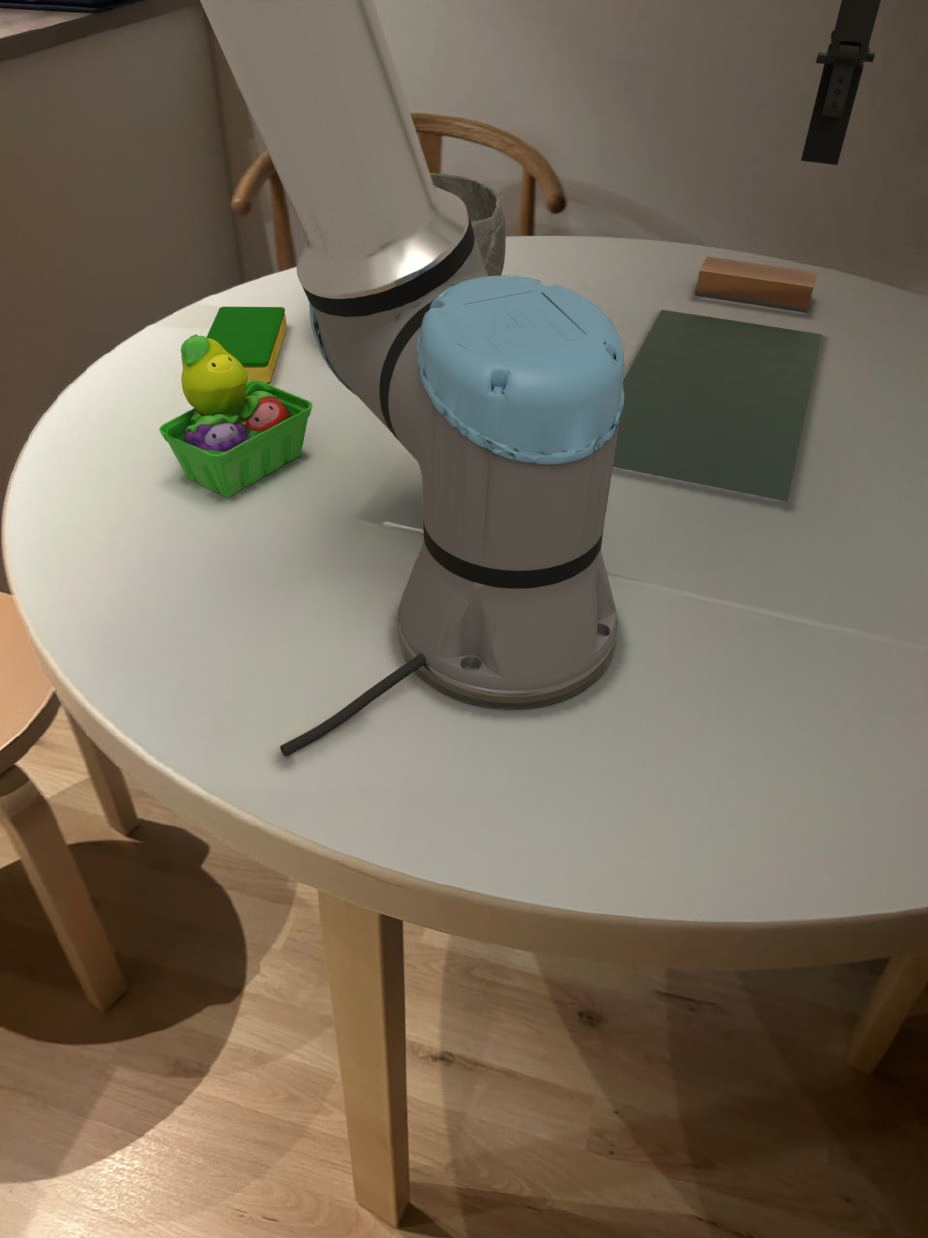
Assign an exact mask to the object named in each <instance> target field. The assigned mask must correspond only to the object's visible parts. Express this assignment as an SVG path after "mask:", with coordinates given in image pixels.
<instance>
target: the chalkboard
mask: <svg viewBox="0 0 928 1238" xmlns="http://www.w3.org/2000/svg"><path fill="white" fill-rule="evenodd" d="M648 332H649V333H648V334H647V336H646V338H645V339H644V341H643V343H642V345H641V347H640V349H639V351H638V353H637V354H636V356H635V358H634V360H633V362H632V364H631V366H630V368H629V369H628V371H627V373H626V375H625V377H624V378H623V391H624V406H623V410H622V413H621V416H620V422H619V429H618V435H617V442H616V449H615V455H614V462H613V468H616V469H621V470H627V471H632V472H637V473H641V474H647V475H652V476H655V477H662V478H667V479H671V480H676V481H683V482H686V483H691V484H697V485H702V486H706V487H712V488H716V489H722V490H728V491H731V492H736V493H737V492H738V493H741V494H746V495H751V496H757V497H762V498H767V499H772V500H777V501H781V502H788V501H789V496H790V492H791V487H792V483H793V482H792V481H793V477H794V472H795V466H796V462H797V458H798V453H799V448H800V443H801V438H802V432H803V428H804V424H805V419H806V413H807V410H808V409H807V408H808V404H809V401H810V400H809V399H810V395H811V389H812V386H813V385H812V384H813V380H814V375H815V370H816V365H817V360H818V355H819V350H820V346H821V341H822V335H823V334H822V333H815V332H809V331H802V330H796V329H792V328H791V329H790V328H784V327H777V326H771V325H765V324H757V323H751V322H745V321H739V320H732V319H726V318H719V317H714V316H713V317H712V316H708V315H707V316H706V315H699V314H693V313H686V312H680V311H675V310H674V311H673V310H668V309H661V310H660V312H659V314H658V315H657V318H656V320H655V321H654V323H653V324H652V327H651V329H650V330H649V331H648Z"/></svg>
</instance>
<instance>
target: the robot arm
mask: <svg viewBox="0 0 928 1238" xmlns="http://www.w3.org/2000/svg"><path fill="white" fill-rule="evenodd" d="M881 1H882V0H841V2H840V5H839V9H838V14H837V19H836V23H835V27H834V28H833V30H832V31H831V33H830V34H831V35H830V38H829V39H830V43H828V48H827V51H826V52H821V51H819V52H817V56H816V61H815V64H819V65H820V64H821V65H823V68H822V71H821V75H820V81H819V84H818V88H817V91H816V92H817V93H816V96H815V102H814V104H813V109H812V113H811V117H810V121H809V125H808V130H807V134H806V138H805V143H804V146H803V150H802V154H801V158H800V162H809V163H815V164H816V163H817V164H826V165H833V166H838V164H839V160H840V158H841V157H840V156H841V154H842V150H843V146H844V141H845V139H846V134H847V131H848V127H849V123H850V119H851V115H852V111H853V108H854V104H855V101H856V96H857V93H858V90H859V86H860V82H861V78H862V74H863V70H864V65H865V64H864V63H873V62H874V60H875V56H876V51H873V50H870V49H871V47H870V42H871V39H872V35H873V32H874V27H875V25H876V20H877V16H878V13H879V9H880V5H881ZM199 2H200V4H201V6H202V8H203V11H204V13H205V15H206V17H207V19H208V21H209V23H210V26H211V28H212V30H213V33H214V35H215V37H216V39H217V41H218V44H219V46H220V48H221V50H222V53H223V56H224V57H225V60H226V62H227V64H228V67H229V69H230V71H231V73H232V75H233V77H234V80H235V82H236V84H237V86H238V88H239V91H240V93H241V95H242V97H243V99H244V101H245V105H246V106H247V107H246V108H247V109H248V112H249V114H250V115H251V119H252V120H253V122H254V125H255V127H256V129H257V132H258V134H259V135H260V138H261V140H262V142H263V144H264V147H265V149H266V151H267V153H268V156H269V158H270V160H271V162H272V164H273V165H272V166H273V167H274V168H275V171H276V174H277V176H278V178H279V180H280V183H281V185H282V187H283V189H284V192H285V194H286V196H287V198H288V200H289V203H290V205H291V207H292V209H293V212H294V214H295V216H296V218H297V221H298V223H299V225H300V227H301V230H302V232H303V234H304V236H305V238H306V239H305V241H304V244H303V246H302V249H301V251H300V253H299V255H298V258H297V261H296V276H297V278H298V281H299V283H300V285H301V287H302V289H303V291H304V294H305V296H306V298H307V300H308V303H309V304H308V305H309V320H310V325H311V330H312V334H313V337H314V340H315V342H316V345H317V347H318V349H319V352H320V354H321V356H322V358H323V360H324V361H325V363H326V365H327V366H328V369H329V370H330V371H331V373H332V374H333V375H334V376H335V377H336V379H337V380H338V382H340V383H341V384H342V385H343V386H344V387H345V388H346V389H347V390H349V391H350V392H351V393H352V394H353V395H355V396H356V397H357V398H358V399H359V400H360V402H361V403H363V404H364V405H365V406H366V407H367V408H368V409H369V410H370V411H371V412H372V414H373V415H374V416H375V417H377V419H378V420H379V421H380V422H381V423H382V425H384V427H385V428H386V429H387V430H388V431H389V432H390V433H391V434H392V435H393V437H394V438H395V439H396V440H397V441H398V442H399V443H400V444H401V445H402V447H404V449H405V450H406V451H407V452H408V453H409V454H410V455H411V456H412V457H413V458H414V459H415V461H416V462H417V464H418V466H419V470H420V472H421V478H422V479H421V480H422V481H421V482H422V485H421V486H422V487H421V489H422V529H423V530H422V534H423V538H422V543H421V546H420V549H419V550H418V554H417V556H416V559H415V561H414V564H413V567H412V569H411V572H410V575H409V577H408V580H407V582H406V584H405V585H406V586H405V588H404V589H403V590H404V591H403V593H402V596H401V600H400V604H399V607H398V613H397V615H398V616H397V617H398V618H397V621H398V638H399V645H400V648H401V651H402V653H403V656H404V658H405V660H406V662H405V663H404V664H403V665H401V666H400V667H399V668H397V669H396V670H394V671H393V672H392V673H390V674H389V675H387V676H386V677H384V678H382V679H381V680H380V681H379V682H377V683H375V684H374V685H373V686H372V687H370V688H369V689H367V690H366V691H364V692H363V693H362V694H361V695H359V696H358V697H357V698H356V699H354V700H353V701H352V702H350V703H349V704H347V705H346V706H345V707H343V708H342V709H340V710H339V711H338V712H336V713H335V714H333V715H332V716H330V717H329V718H327V719H326V720H324V721H323V722H321V723H320V724H318V725H316V726H314V727H313V728H312V729H309V730H307V731H306V732H304V733H302V734H300V735H298V736H296V737H294V738H292V739H291V740H289V741H287V742H285V743H283V744H281V745H280V746H279V750H280V751H281V754H282V756H283V757H286V758H287V757H289V756H290V755H292V754H294V753H296V752H298V751H300V750H302V749H304V748H306V747H308V746H309V745H311V744H313V743H315V742H317V741H318V740H320V739H322V738H323V737H325V736H327V735H328V734H330V733H331V732H333V731H335V730H336V729H337V728H339V727H341V725H343V724H344V723H346V722H347V721H349V720H350V719H352V718H353V717H354V716H356V715H357V714H358V713H359V712H361V711H362V710H363V709H364V708H366V707H367V706H369V705H370V704H371V703H373V702H374V701H375V700H376V699H378V698H379V697H380V696H383V694H385V693H386V692H388V691H389V690H391V689H392V688H393V687H395V686H396V685H398V684H399V683H400V682H402V681H403V680H405V679H406V678H408V677H409V676H410V675H412V674H413V673H416V674H417V675H418V676H419V677H420V678H421V679H422V680H423V681H424V682H426V683H427V684H429V685H430V686H432V687H433V688H435V689H436V690H438V691H440V692H442V693H444V694H445V695H448V696H450V697H452V698H454V699H458V700H460V701H463V702H467V703H470V704H473V705H478V706H483V707H490V708H495V709H496V708H497V709H499V708H500V709H526V708H528V709H529V708H535V707H541V706H542V707H543V706H546V705H551V704H554V703H558V702H560V701H564V700H566V699H569V698H571V697H574V696H575V695H577V694H579V693H580V692H582V691H584V690H586V688H588V687H590V686H591V685H592V684H593V683H595V682H596V681H597V680H598V679H599V678H600V677H601V676H602V675H603V674H604V672H605V671H606V669H607V668H608V667H609V665H610V663H611V660H612V658H613V656H614V652H615V648H616V642H617V641H616V640H617V634H618V615H617V608H616V603H615V599H614V596H613V591H612V588H611V585H610V580H609V577H608V573H607V568H606V564H605V560H604V558H603V554H602V545H603V538H604V537H603V536H604V530H605V529H604V528H605V521H606V516H607V507H608V503H609V495H610V490H611V489H610V488H611V481H612V475H613V468H614V467H613V462H614V455H615V449H616V442H617V435H618V429H619V422H620V416H621V413H622V410H623V406H624V391H623V380H624V368H625V367H624V366H625V365H624V364H625V363H624V362H625V355H624V354H625V353H624V348H623V347H624V346H623V343H622V339H621V336H620V334H619V332H618V330H617V328H616V326H615V324H614V323H613V322H612V320H611V319H610V317H609V316H608V314H606V313H605V312H604V311H603V309H601V308H600V307H599V306H598V305H597V304H595V303H594V302H592V301H591V300H590V299H589V298H587V297H586V296H584V295H582V294H580V293H578V292H576V291H575V290H572V289H570V288H568V287H566V286H563V285H561V284H557V283H556V284H553V285H543V284H542V283H541V281H540V279H539V278H532V277H526V276H520V275H519V276H518V275H501V276H488V274H487V272H486V269H485V266H484V263H483V259H482V256H481V253H480V250H479V246H478V243H477V240H476V237H475V234H474V230H473V227H472V224H471V221H470V217H469V214H468V211H467V208H466V206H465V204H464V202H463V201H462V200H461V199H460V198H459V197H457V196H456V195H454V194H452V193H450V192H447V191H445V190H442V189H440V188H437V187H435V186H434V185H433V181H432V178H431V175H430V173H431V172H430V169H429V166H428V163H427V161H426V157H425V154H424V151H423V148H422V144H421V141H420V138H419V136H418V132H417V129H416V126H415V124H414V120H413V118H412V114H411V111H410V107H409V105H408V102H407V99H406V95H405V92H404V89H403V86H402V83H401V80H400V77H399V75H398V71H397V67H396V64H395V62H394V59H393V55H392V53H391V49H390V47H389V43H388V41H387V38H386V37H387V36H386V34H385V31H384V28H383V26H382V22H381V18H380V16H379V13H378V9H377V6H376V3H375V1H374V0H199Z"/></svg>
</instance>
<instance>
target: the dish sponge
mask: <svg viewBox="0 0 928 1238" xmlns="http://www.w3.org/2000/svg"><path fill="white" fill-rule="evenodd" d="M286 316H287V315H286V309H285V307H283V306H221V307H219V308H218V311H217V313H216V314H215V316H214V317H215V318H214V320H213V322H212V324H211V326H210V328H209V331H208V332H207V335H206V336H205V337H206V338H210V339H213V340H215V341H217V342H218V343H219V344H220V345H221V346H222V347H223V348H224V349H225V351H227V352H228V353H230V354H231V355H232V356H234V357H235V358H236V359H237V360H238V361H239V362H240V363H241V364H242V366H243V367H244V369H245V370H246V373H247V375H248V381H247V383H248V382H250V381H262V382H265V383H267V384H269V383H270V382H271V380H272V377H273V373H274V371H275V367H276V364H277V360H278V357H279V354H280V351H281V348H282V344H283V341H284V338H285V334H286V331H287V328H288V325H287V317H286Z"/></svg>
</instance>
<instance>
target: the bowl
mask: <svg viewBox="0 0 928 1238" xmlns="http://www.w3.org/2000/svg"><path fill="white" fill-rule="evenodd" d="M430 175H431V178H432V181H433V185H434V186H435V187H437V188H440V189H442V190H445V191H447V192H450V193H452V194H454V195H456V196H457V197H459V198H460V199H461V200H462V201H463V202H464V204H465V206H466V208H467V211H468V214H469V217H470V221H471V224H472V227H473V230H474V234H475V237H476V240H477V243H478V246H479V250H480V253H481V256H482V259H483V263H484V266H485V269H486V272H487V274H488V276H503V275H502V274H503V271H504V267H505V261H506V245H507V241H506V240H507V231H506V217H505V214H504V209H503V206H502V203H501V199H500V197H499V195H498V193H497V192H496V191H495V189H494V188H492V187H491V186H489V185H488V184H486V183H484V182H481V181H479V180H478V179H475V178H472V177H468V176H464V175H460V174H459V175H458V174H449V173H448V174H447V173H444V172H443V173H442V172H440V173H434V172H430Z"/></svg>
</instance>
